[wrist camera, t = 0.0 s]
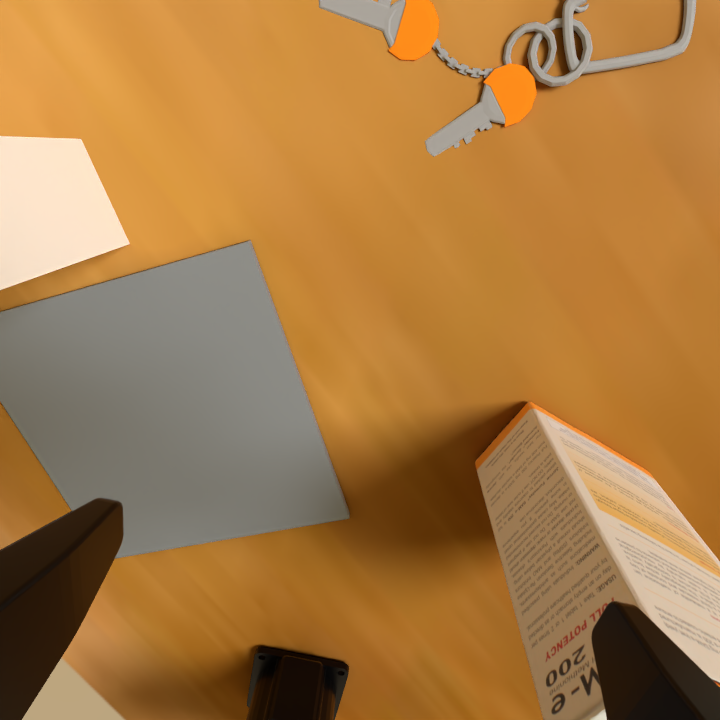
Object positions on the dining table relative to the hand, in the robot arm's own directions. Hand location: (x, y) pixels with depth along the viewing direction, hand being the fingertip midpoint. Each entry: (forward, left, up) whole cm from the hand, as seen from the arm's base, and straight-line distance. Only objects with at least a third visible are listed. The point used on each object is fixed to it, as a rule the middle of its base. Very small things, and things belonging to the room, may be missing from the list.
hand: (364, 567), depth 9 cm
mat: (-9, +10, -15) cm, 20 cm away
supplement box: (-6, -11, -15) cm, 20 cm away
